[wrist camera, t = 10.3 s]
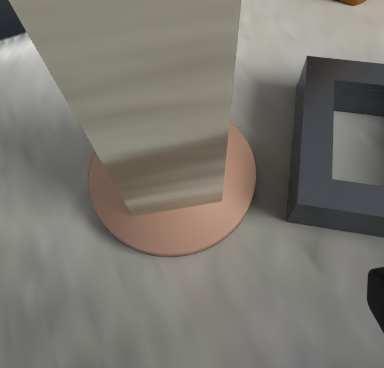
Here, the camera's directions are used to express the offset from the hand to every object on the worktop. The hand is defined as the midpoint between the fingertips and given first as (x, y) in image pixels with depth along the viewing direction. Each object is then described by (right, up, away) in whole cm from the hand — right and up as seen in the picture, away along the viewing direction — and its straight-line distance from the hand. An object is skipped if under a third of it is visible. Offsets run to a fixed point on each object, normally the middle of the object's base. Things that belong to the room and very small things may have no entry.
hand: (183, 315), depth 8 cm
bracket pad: (-1, +3, +11) cm, 12 cm away
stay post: (-1, +4, +11) cm, 11 cm away
